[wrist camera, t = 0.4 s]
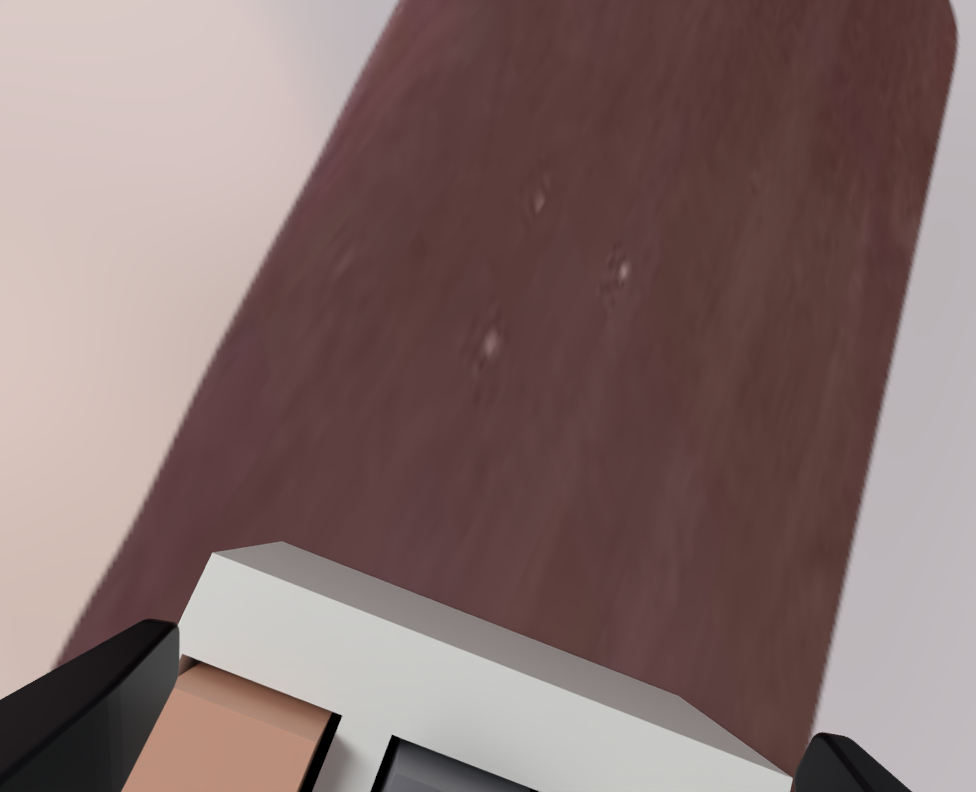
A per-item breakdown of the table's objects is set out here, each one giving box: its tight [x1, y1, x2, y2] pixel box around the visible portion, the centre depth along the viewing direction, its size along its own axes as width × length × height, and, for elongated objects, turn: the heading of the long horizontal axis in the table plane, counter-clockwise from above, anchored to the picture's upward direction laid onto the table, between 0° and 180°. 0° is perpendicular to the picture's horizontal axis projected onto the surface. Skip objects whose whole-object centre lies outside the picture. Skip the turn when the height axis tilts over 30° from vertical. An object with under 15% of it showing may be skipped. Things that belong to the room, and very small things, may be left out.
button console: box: [178, 542, 793, 792], centre depth 17 cm, size 9×16×7 cm, turn 69°
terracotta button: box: [121, 662, 332, 792], centre depth 14 cm, size 4×4×2 cm
